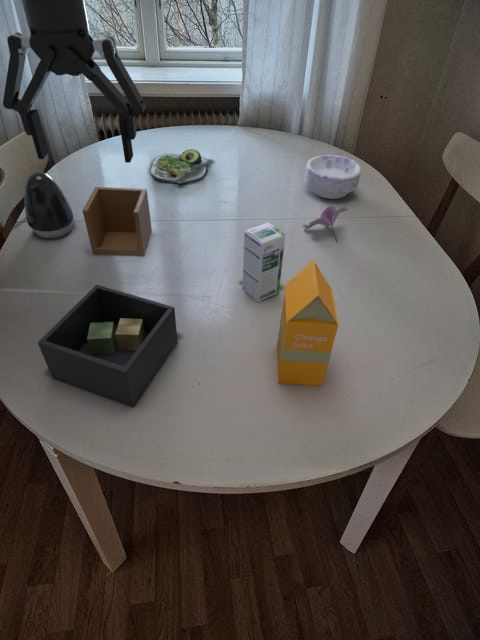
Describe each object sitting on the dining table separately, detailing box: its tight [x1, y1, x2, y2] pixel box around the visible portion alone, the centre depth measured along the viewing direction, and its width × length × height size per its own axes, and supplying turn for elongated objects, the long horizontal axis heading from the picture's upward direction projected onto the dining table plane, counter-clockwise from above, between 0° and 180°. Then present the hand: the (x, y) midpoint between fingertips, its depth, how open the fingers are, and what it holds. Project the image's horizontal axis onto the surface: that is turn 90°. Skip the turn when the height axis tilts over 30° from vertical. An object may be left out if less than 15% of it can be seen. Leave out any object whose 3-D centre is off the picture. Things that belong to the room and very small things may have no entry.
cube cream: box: [115, 318, 145, 350], centre depth 76 cm, size 4×4×4 cm
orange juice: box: [276, 258, 340, 387], centre depth 69 cm, size 8×9×20 cm
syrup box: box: [241, 221, 286, 303], centre depth 86 cm, size 6×6×14 cm
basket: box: [37, 283, 179, 408], centre depth 73 cm, size 16×16×9 cm
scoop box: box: [82, 186, 153, 257], centre depth 97 cm, size 12×11×12 cm
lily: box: [304, 203, 351, 243], centre depth 105 cm, size 12×12×10 cm
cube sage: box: [87, 322, 117, 355], centre depth 76 cm, size 4×4×4 cm
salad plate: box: [150, 149, 213, 185], centre depth 129 cm, size 19×18×5 cm
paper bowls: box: [304, 154, 362, 200], centre depth 122 cm, size 15×15×8 cm
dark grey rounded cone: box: [23, 171, 75, 239], centre depth 99 cm, size 10×10×15 cm
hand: (86, 157), depth 69 cm, fingers open, 13 cm apart
